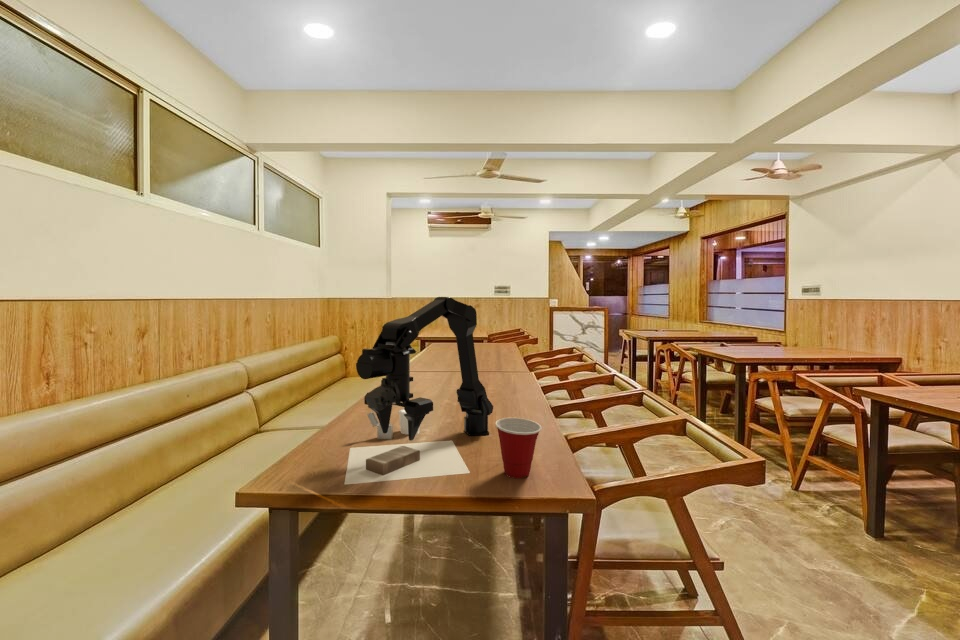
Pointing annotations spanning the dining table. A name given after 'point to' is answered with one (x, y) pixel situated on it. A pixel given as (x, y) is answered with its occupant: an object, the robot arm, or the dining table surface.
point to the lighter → (379, 430)
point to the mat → (432, 463)
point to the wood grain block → (392, 460)
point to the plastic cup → (517, 444)
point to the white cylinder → (404, 422)
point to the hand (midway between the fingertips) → (398, 436)
